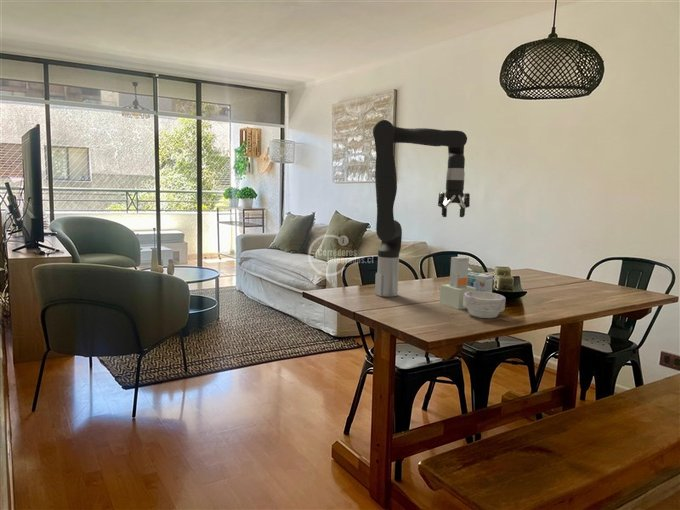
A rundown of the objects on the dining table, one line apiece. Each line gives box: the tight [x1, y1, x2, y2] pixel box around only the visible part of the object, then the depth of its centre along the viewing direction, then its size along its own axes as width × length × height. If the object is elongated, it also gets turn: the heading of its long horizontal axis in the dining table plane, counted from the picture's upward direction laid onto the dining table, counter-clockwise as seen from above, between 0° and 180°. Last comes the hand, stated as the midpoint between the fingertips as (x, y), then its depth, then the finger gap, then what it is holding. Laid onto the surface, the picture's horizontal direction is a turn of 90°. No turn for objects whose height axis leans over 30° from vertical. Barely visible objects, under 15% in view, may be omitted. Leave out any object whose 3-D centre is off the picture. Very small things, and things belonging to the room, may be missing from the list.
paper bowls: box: [463, 291, 507, 319], centre depth 185 cm, size 15×15×8 cm
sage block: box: [439, 283, 476, 310], centre depth 201 cm, size 9×11×8 cm
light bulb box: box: [467, 271, 494, 293], centre depth 215 cm, size 11×7×11 cm, turn 47°
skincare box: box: [449, 256, 470, 287], centre depth 200 cm, size 6×4×12 cm
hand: (453, 217), depth 213 cm, fingers open, 8 cm apart
